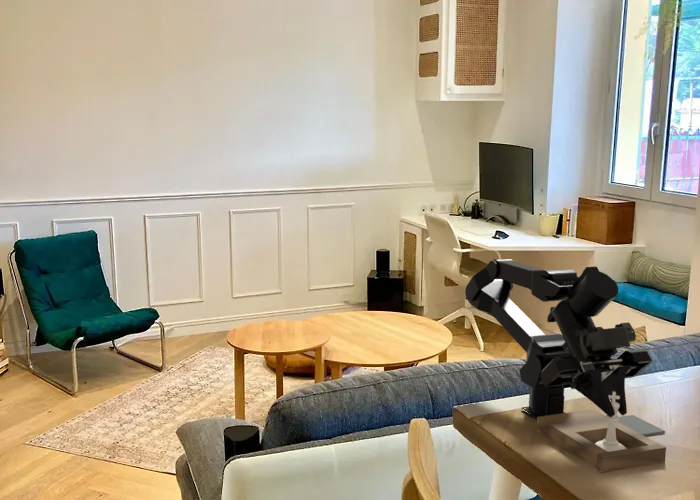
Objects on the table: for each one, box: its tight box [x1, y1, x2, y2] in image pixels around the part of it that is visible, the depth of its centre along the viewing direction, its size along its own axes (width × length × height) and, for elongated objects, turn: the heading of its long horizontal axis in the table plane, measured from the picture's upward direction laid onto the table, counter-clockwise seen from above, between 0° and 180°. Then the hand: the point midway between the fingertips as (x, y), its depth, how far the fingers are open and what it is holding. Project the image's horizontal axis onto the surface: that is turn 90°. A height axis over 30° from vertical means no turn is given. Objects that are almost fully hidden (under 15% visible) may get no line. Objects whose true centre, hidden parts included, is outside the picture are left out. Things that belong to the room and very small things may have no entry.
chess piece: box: [595, 392, 627, 452], centre depth 114 cm, size 5×5×10 cm
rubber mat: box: [617, 414, 666, 437], centre depth 125 cm, size 8×8×1 cm
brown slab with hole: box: [536, 408, 667, 474], centre depth 117 cm, size 18×12×2 cm
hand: (618, 415), depth 112 cm, fingers closed on chess piece
